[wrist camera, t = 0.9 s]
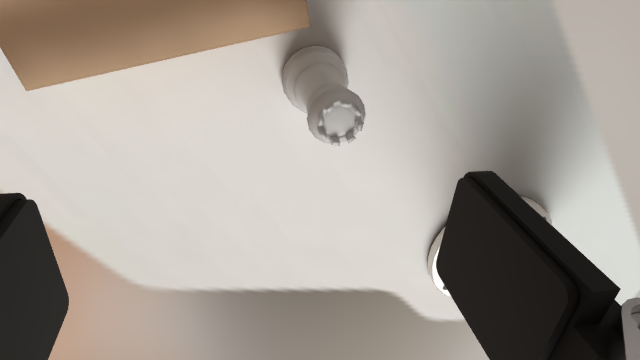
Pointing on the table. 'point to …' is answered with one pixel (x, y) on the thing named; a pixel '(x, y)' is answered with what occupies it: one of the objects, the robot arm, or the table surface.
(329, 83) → the rook chess piece
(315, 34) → the table surface
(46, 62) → the walnut board
